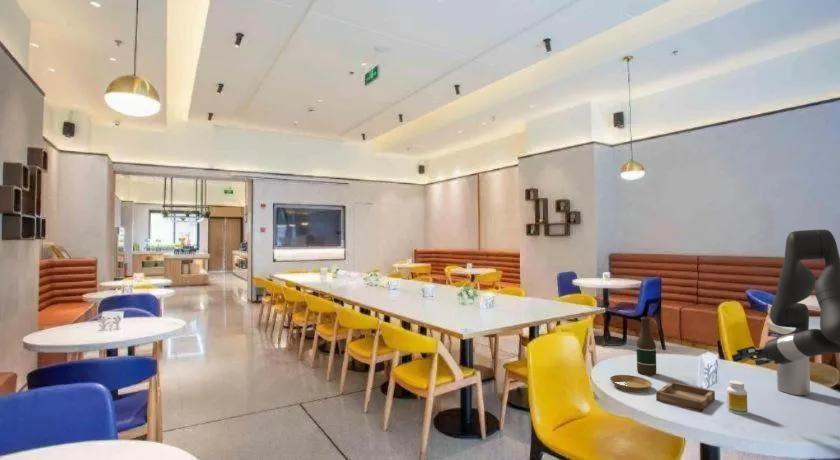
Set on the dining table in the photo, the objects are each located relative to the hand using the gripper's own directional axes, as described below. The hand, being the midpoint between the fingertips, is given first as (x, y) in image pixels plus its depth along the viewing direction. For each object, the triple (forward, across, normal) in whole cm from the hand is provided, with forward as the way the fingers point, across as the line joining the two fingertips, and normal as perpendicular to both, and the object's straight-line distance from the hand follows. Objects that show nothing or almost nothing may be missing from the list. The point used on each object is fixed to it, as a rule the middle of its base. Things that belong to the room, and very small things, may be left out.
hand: (744, 360), depth 141 cm
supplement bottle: (+9, -1, +15) cm, 18 cm away
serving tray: (+20, +8, +11) cm, 24 cm away
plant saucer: (+35, +19, +6) cm, 40 cm away
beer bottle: (+46, +2, -4) cm, 46 cm away
